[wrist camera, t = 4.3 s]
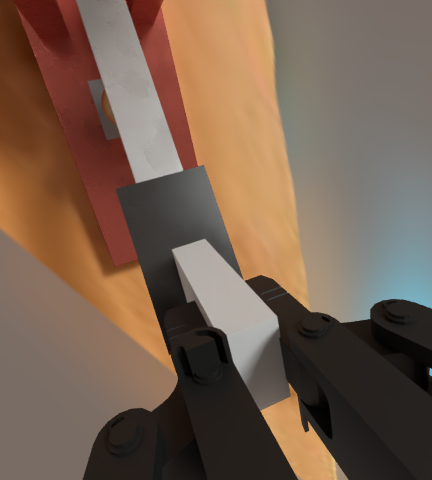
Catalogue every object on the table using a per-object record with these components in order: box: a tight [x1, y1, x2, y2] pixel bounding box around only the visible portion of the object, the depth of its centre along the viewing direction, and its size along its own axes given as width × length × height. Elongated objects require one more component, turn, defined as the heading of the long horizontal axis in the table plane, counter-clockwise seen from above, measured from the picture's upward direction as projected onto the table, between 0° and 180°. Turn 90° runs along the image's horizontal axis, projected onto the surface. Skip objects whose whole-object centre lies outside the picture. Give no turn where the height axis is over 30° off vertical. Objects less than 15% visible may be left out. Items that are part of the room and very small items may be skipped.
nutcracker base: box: [12, 0, 198, 267], centre depth 23 cm, size 25×10×10 cm, turn 13°
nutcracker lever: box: [75, 0, 243, 355], centre depth 16 cm, size 23×4×2 cm, turn 13°
